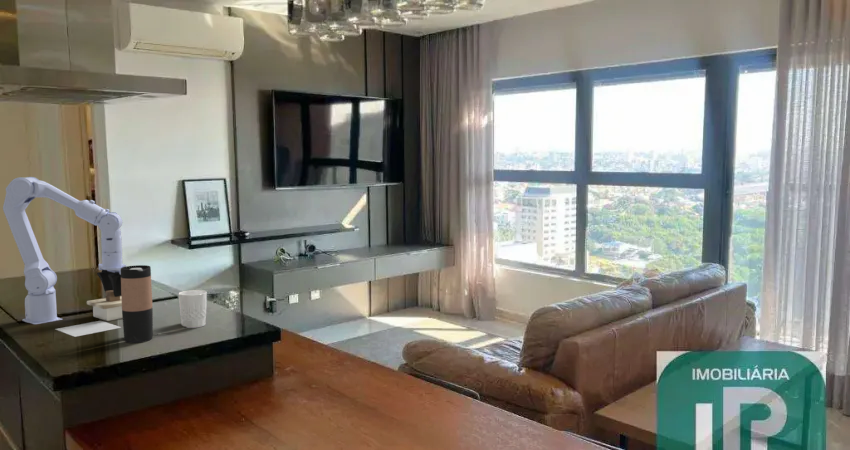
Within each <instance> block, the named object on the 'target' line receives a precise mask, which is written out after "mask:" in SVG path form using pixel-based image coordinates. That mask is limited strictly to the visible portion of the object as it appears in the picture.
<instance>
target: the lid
mask: <svg viewBox="0 0 850 450" xmlns="http://www.w3.org/2000/svg"><path fill="white" fill-rule="evenodd" d="M86 305H88V306H91V307H93V306H95V307H98V308H101V309H108V308H114V307H119V306H122V296H118V297H115V296H114V293H113V290H110V291H106V293H105V297H103V298H98V299H92V300H86Z"/></svg>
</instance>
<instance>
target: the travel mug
mask: <svg viewBox="0 0 850 450" xmlns="http://www.w3.org/2000/svg"><path fill="white" fill-rule="evenodd" d="M151 271H152V270H151V265H144V264H142V265H141V264H140V265H139V264H137V265H126V267H122V268H121V296H122V317H123V318H122V326H123V328H122V329H123V340H124V342H126V343H130V344H136V343H137V344H138V343H145V342H148V341H151V340H153V335H154V332H153V330H154V327H153V326H154V324H153V323H154V321H153V318H154V316H153V315H154V313H153V290H152V289H153V288H152V287H153V286H152V272H151Z"/></svg>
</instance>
